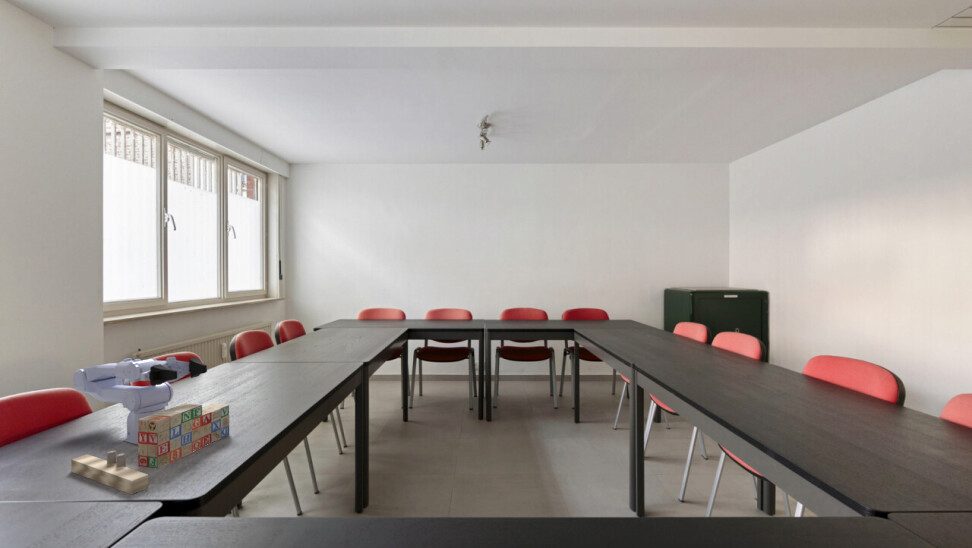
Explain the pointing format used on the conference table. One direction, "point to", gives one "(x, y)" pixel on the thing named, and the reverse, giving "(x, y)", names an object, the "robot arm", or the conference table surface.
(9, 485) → the conference table surface
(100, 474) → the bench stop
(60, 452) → the conference table surface
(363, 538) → the conference table surface
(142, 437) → the stack of blocks
